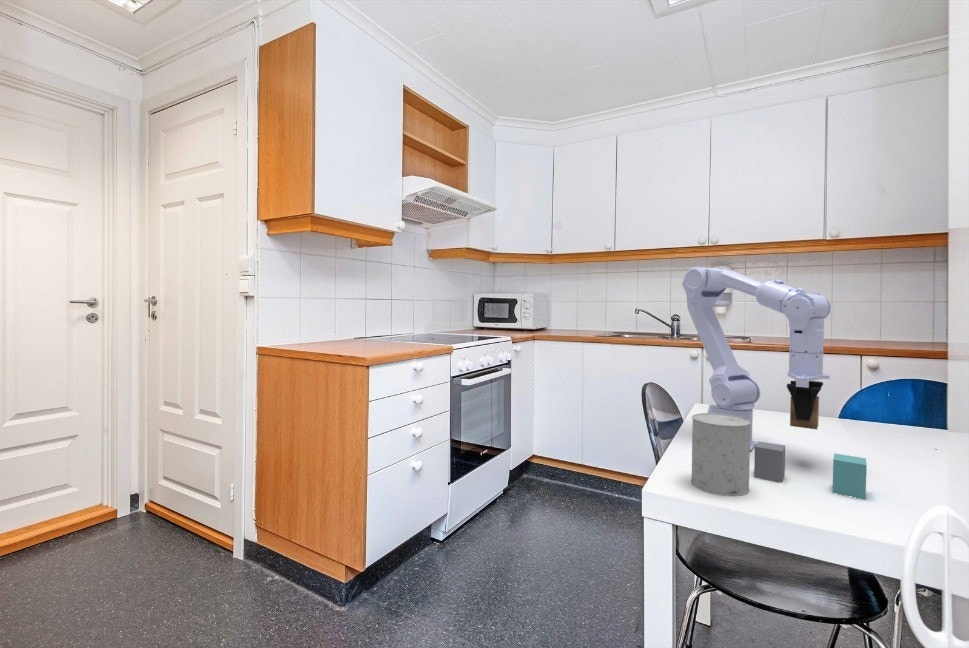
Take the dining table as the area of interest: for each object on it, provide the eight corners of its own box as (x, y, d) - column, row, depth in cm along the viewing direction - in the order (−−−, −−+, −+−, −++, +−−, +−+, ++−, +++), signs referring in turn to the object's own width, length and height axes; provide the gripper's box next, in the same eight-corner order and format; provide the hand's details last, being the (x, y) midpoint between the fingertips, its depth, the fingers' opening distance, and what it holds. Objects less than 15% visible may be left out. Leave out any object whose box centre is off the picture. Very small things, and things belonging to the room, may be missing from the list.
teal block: (832, 493, 81) (833, 459, 80) (833, 485, 84) (834, 453, 84) (865, 500, 78) (866, 465, 78) (865, 491, 81) (866, 458, 81)
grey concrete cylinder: (748, 500, 77) (749, 428, 77) (687, 488, 82) (688, 421, 82) (750, 482, 86) (751, 417, 85) (694, 472, 91) (695, 410, 90)
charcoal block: (754, 477, 88) (754, 446, 88) (757, 470, 92) (758, 441, 91) (781, 483, 85) (782, 451, 85) (784, 476, 89) (785, 445, 89)
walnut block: (790, 425, 94) (790, 397, 94) (792, 421, 98) (793, 393, 98) (816, 429, 91) (817, 399, 91) (818, 425, 95) (819, 396, 95)
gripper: (828, 356, 86) (826, 427, 86) (831, 350, 97) (830, 414, 98) (784, 353, 90) (782, 422, 91) (791, 348, 102) (790, 409, 102)
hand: (804, 417), depth 95 cm, fingers closed on walnut block, 4 cm apart
